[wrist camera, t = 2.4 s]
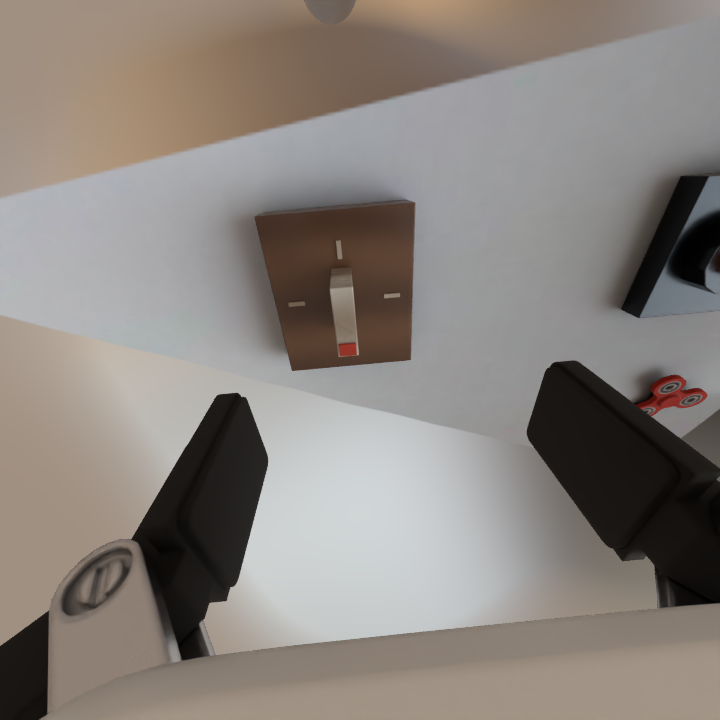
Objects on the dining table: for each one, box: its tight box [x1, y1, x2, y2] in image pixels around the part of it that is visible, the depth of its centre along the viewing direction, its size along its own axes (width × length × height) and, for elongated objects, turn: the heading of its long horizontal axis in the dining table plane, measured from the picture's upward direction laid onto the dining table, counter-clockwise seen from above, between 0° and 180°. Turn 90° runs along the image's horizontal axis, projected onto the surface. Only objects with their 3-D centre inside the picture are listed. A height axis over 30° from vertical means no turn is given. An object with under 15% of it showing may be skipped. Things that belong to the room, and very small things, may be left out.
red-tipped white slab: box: [330, 267, 359, 357], centre depth 23 cm, size 6×2×5 cm, turn 4°
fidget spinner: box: [636, 375, 707, 416], centre depth 37 cm, size 8×7×1 cm
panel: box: [255, 200, 415, 371], centre depth 26 cm, size 14×12×3 cm
